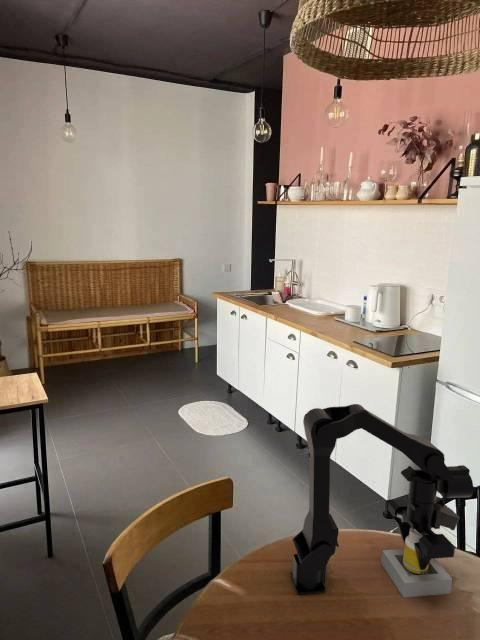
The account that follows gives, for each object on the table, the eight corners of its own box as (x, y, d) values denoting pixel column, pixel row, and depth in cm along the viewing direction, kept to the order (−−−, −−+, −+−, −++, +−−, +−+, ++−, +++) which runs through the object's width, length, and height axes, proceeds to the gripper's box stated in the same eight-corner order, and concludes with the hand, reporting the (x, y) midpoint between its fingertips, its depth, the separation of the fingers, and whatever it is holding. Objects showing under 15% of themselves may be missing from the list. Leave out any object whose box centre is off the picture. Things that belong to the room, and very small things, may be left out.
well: (403, 597, 101) (404, 583, 100) (381, 563, 112) (382, 550, 111) (450, 593, 103) (452, 579, 102) (424, 560, 113) (425, 547, 113)
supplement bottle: (423, 582, 103) (427, 541, 102) (399, 571, 106) (402, 532, 105) (430, 569, 107) (434, 530, 106) (406, 559, 111) (410, 521, 109)
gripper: (482, 518, 96) (474, 587, 99) (432, 475, 114) (426, 533, 117) (432, 521, 94) (424, 591, 97) (389, 476, 113) (384, 536, 115)
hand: (415, 560), depth 106 cm, fingers closed on supplement bottle, 5 cm apart
